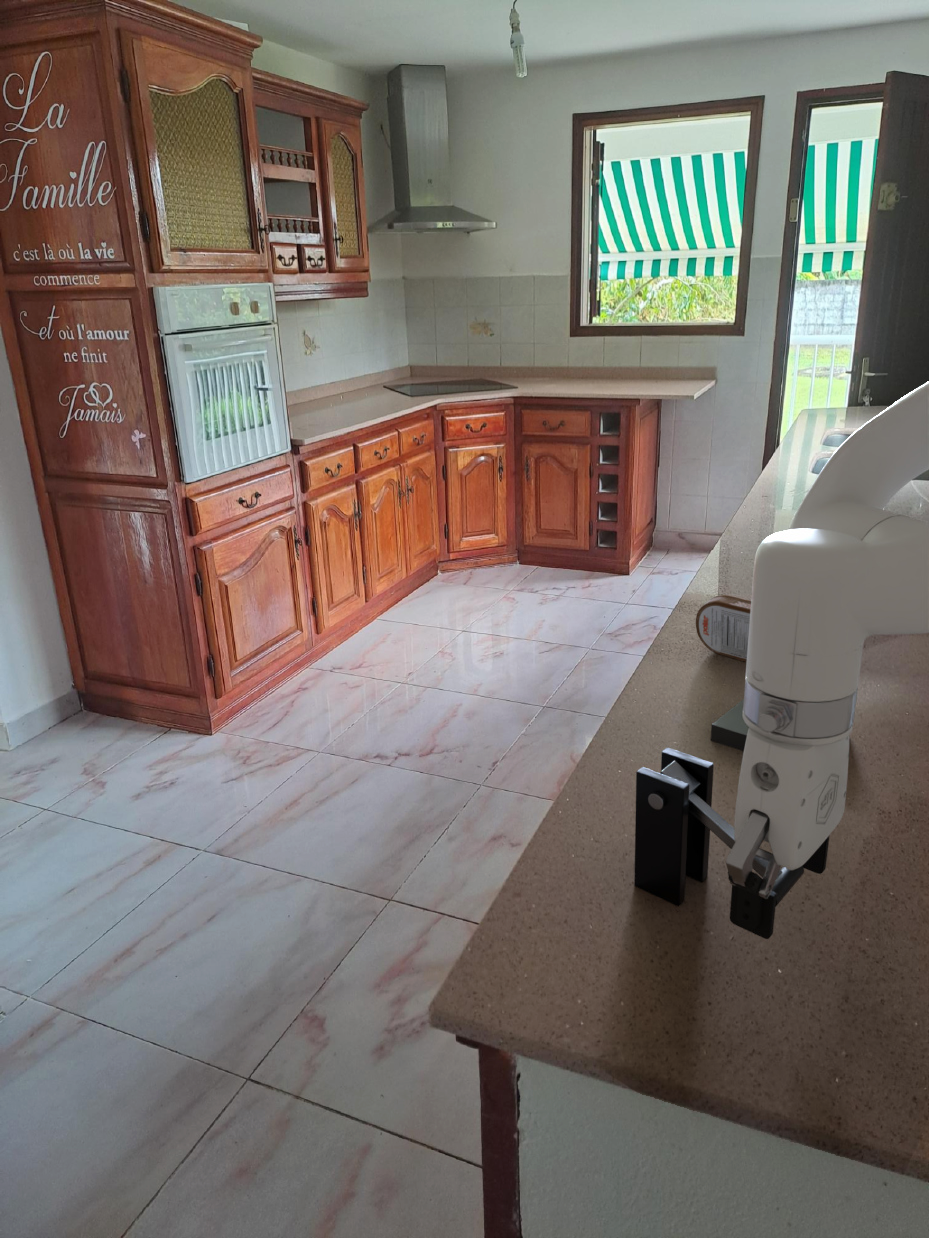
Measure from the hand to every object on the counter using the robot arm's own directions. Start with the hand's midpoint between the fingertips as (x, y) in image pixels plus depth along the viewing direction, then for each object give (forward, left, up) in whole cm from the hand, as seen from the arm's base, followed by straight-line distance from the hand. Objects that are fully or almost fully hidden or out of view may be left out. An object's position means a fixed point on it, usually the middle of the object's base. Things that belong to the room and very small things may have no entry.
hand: (778, 896), depth 69 cm
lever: (+6, 0, +3) cm, 6 cm away
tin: (+27, -49, -5) cm, 56 cm away
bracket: (+10, 0, -5) cm, 11 cm away
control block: (+14, -31, -5) cm, 34 cm away
